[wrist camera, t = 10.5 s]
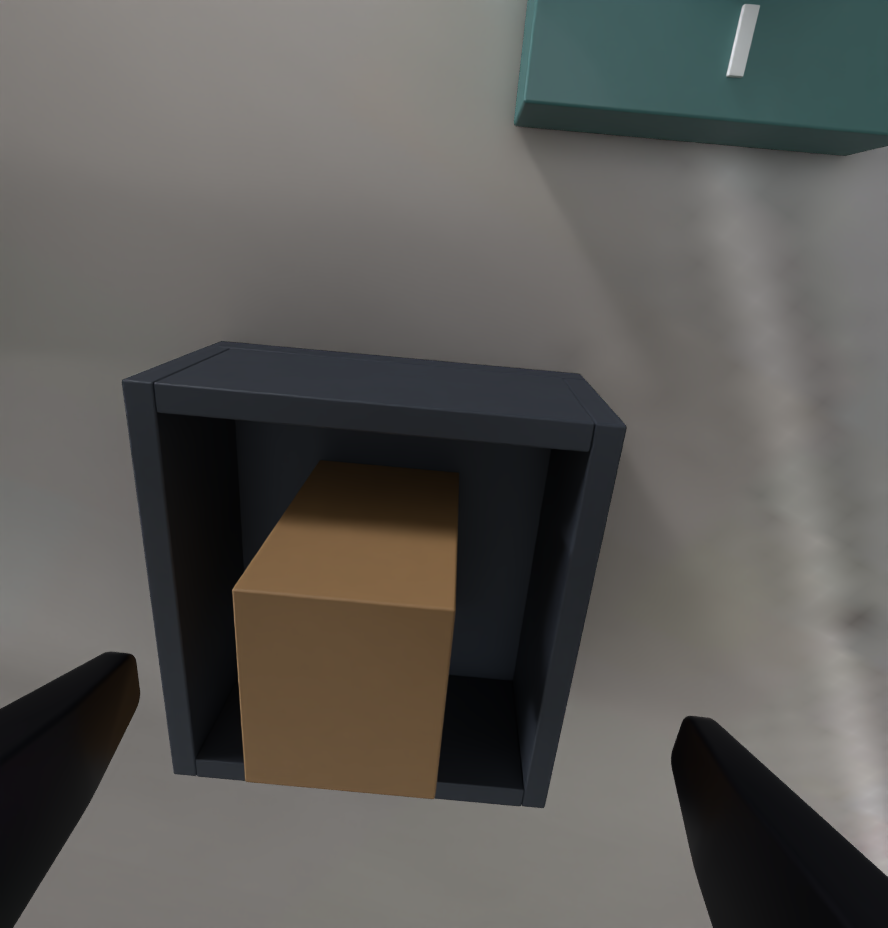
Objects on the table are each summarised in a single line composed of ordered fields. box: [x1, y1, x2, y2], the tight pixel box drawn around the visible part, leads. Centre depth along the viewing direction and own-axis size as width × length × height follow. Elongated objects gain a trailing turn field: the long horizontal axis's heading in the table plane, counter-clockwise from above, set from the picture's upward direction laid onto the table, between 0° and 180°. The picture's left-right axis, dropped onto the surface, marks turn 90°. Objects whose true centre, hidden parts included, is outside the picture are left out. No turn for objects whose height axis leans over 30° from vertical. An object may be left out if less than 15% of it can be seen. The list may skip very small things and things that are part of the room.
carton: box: [232, 460, 459, 799], centre depth 17 cm, size 5×6×8 cm
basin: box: [122, 341, 627, 808], centre depth 19 cm, size 13×14×6 cm
